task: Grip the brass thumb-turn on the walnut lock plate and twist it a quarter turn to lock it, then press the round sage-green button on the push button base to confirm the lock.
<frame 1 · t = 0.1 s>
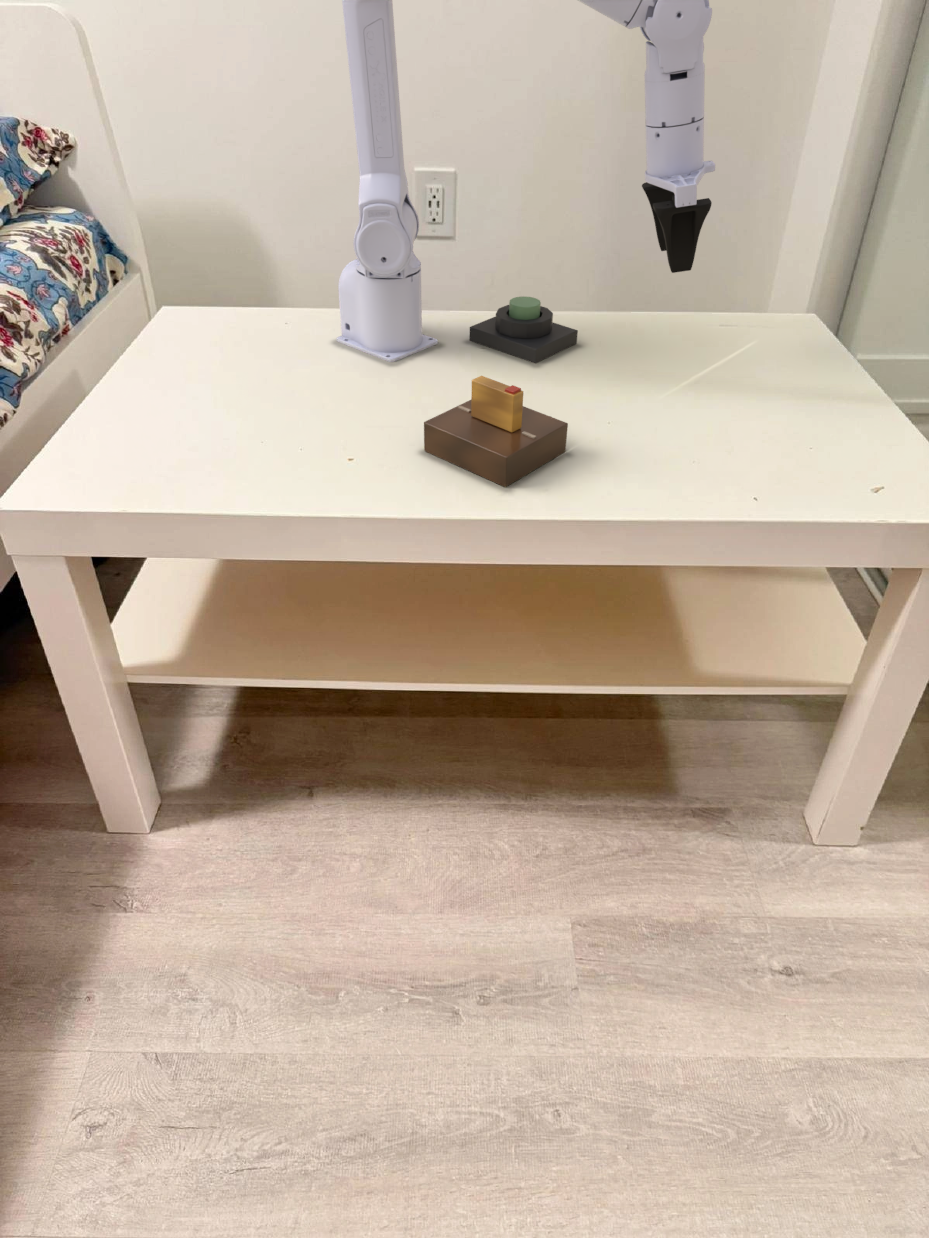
hand: (675, 259, 96), 10 cm above the table, tool pointing down, fingers open, 7 cm apart
lock plate: (494, 451, 83), on the table
push button base: (522, 342, 104), on the table
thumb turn: (496, 402, 80), point 5 cm above the table, hinge at 0.0°
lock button: (524, 309, 102), point 4 cm above the table, slide at 0.1 cm
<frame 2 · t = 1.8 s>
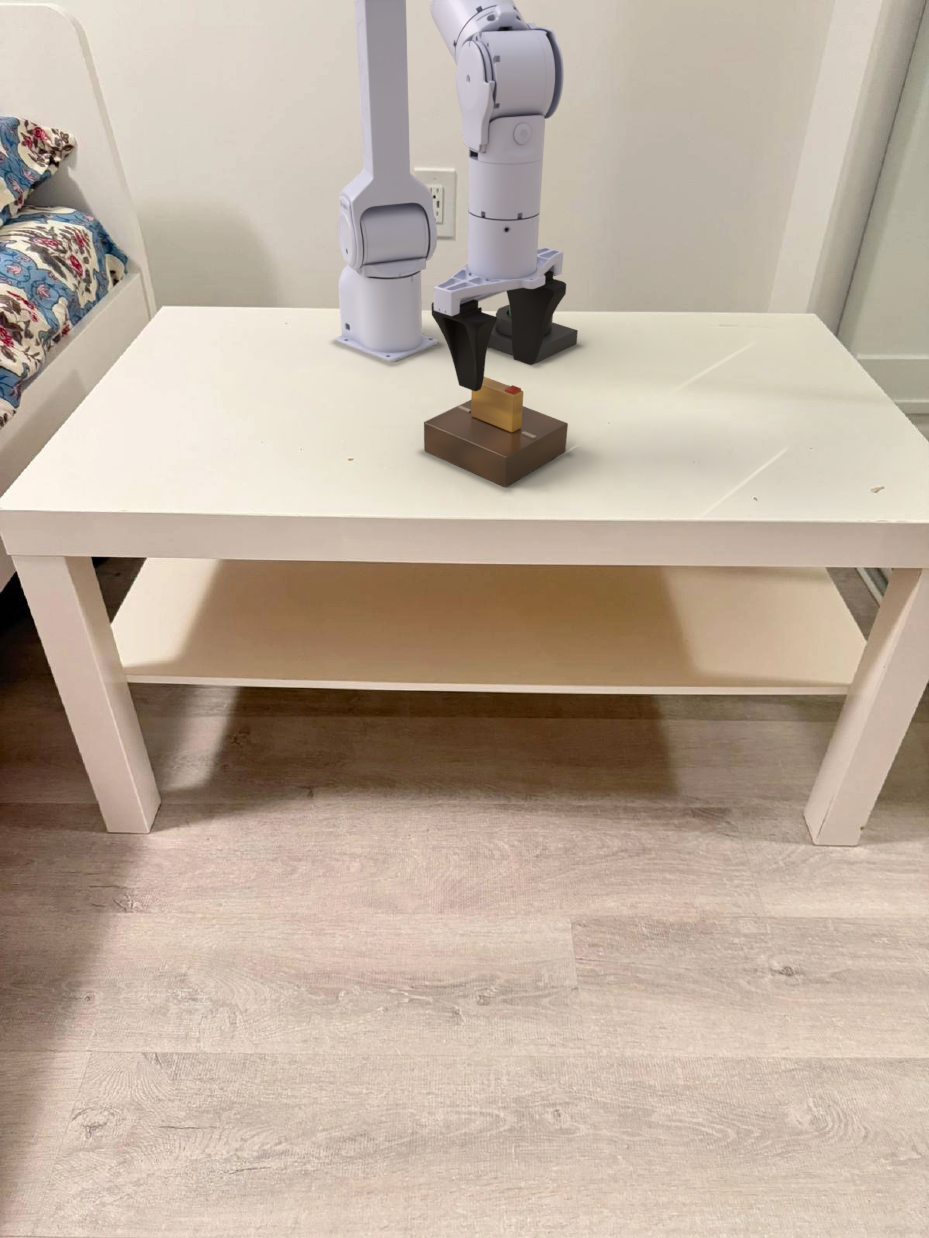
hand: (497, 374, 78), 8 cm above the table, tool pointing down, fingers open, 7 cm apart
nothing on the table moved.
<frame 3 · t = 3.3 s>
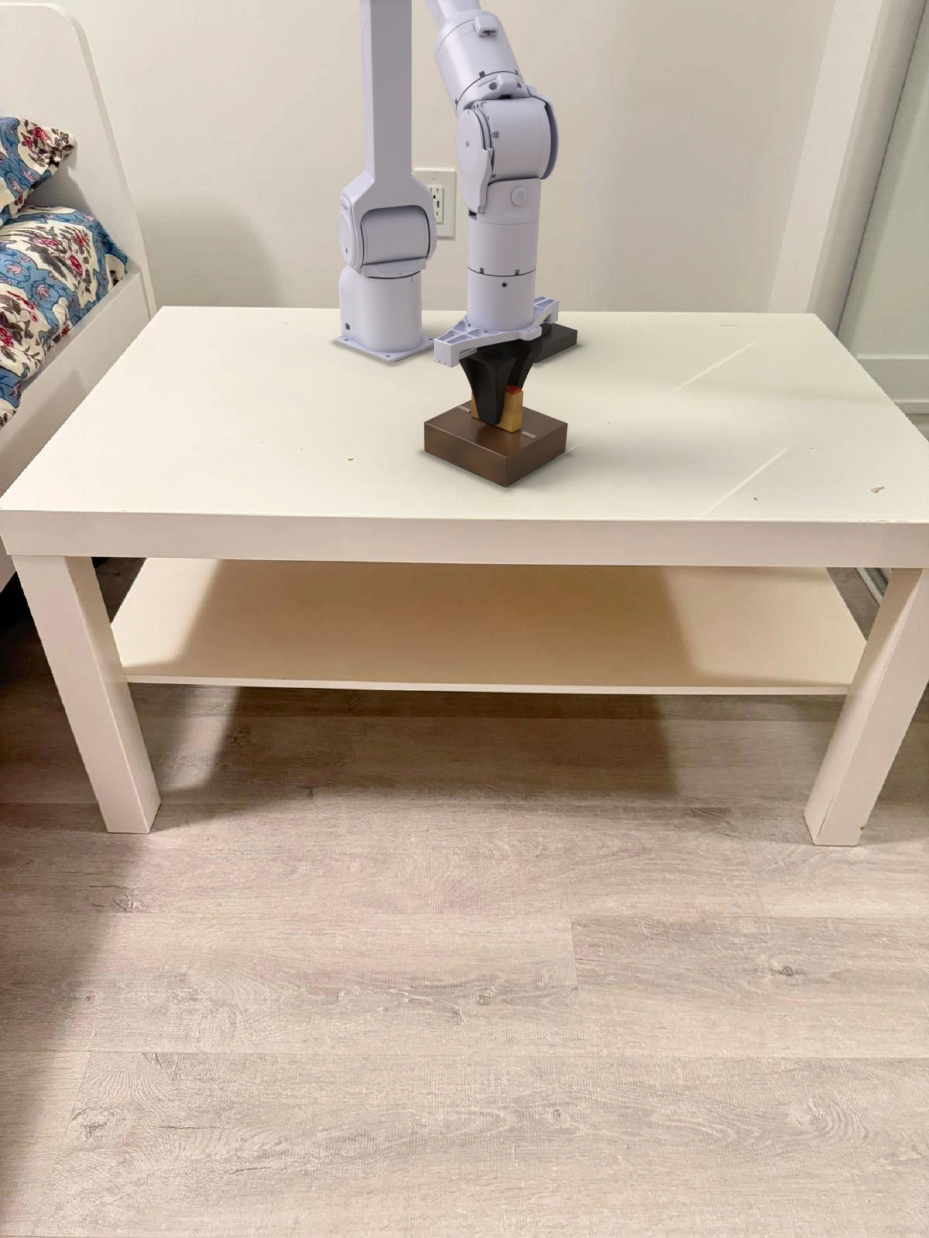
hand: (496, 417, 81), 4 cm above the table, tool pointing down, fingers closed on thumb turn
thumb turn: (496, 402, 80), point 5 cm above the table, hinge at 0.1°, touching gripper
everything else where it was.
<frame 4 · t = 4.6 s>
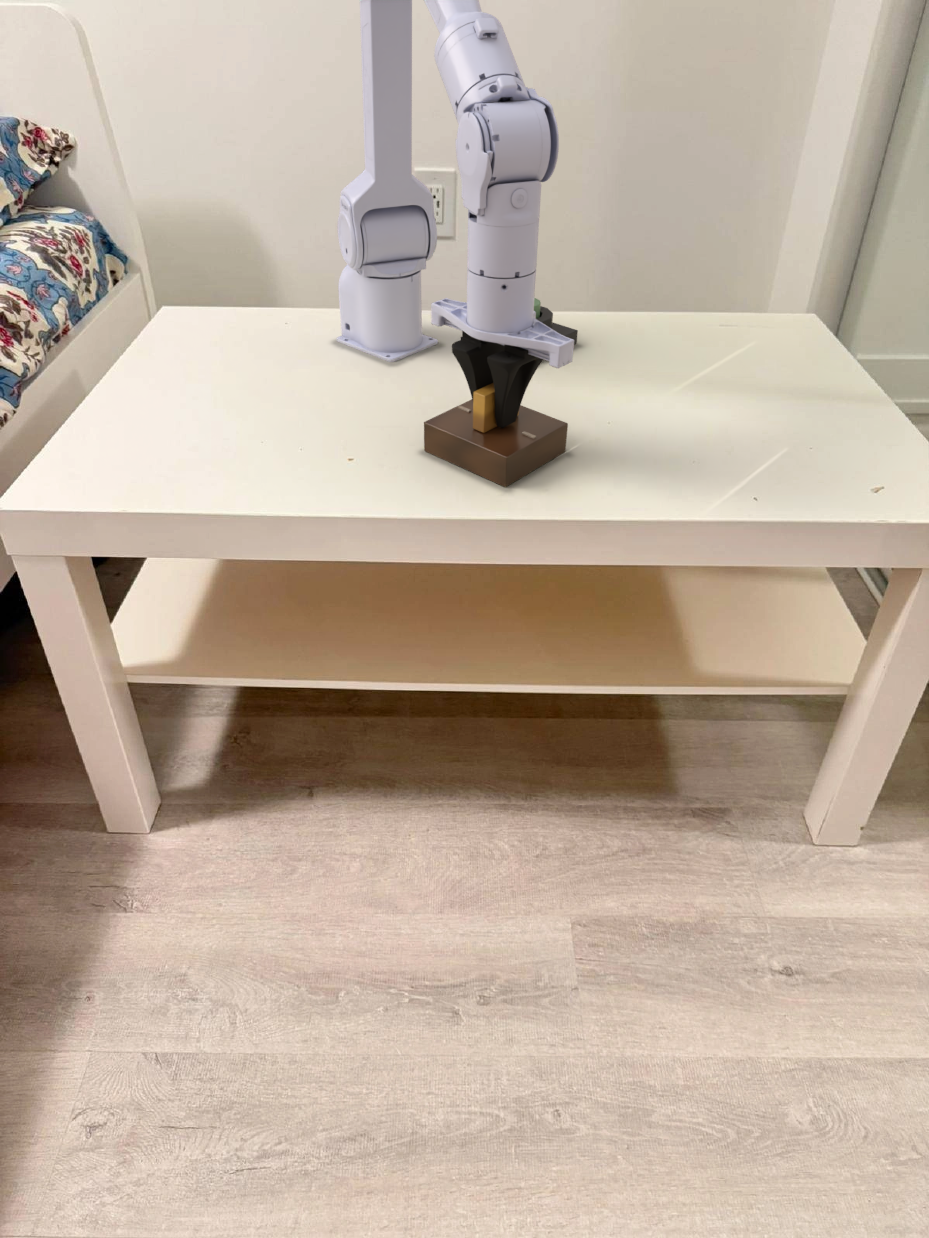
hand: (496, 419, 81), 3 cm above the table, tool pointing down, fingers closed
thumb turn: (496, 402, 80), point 5 cm above the table, hinge at 89.5°
everything else where it was.
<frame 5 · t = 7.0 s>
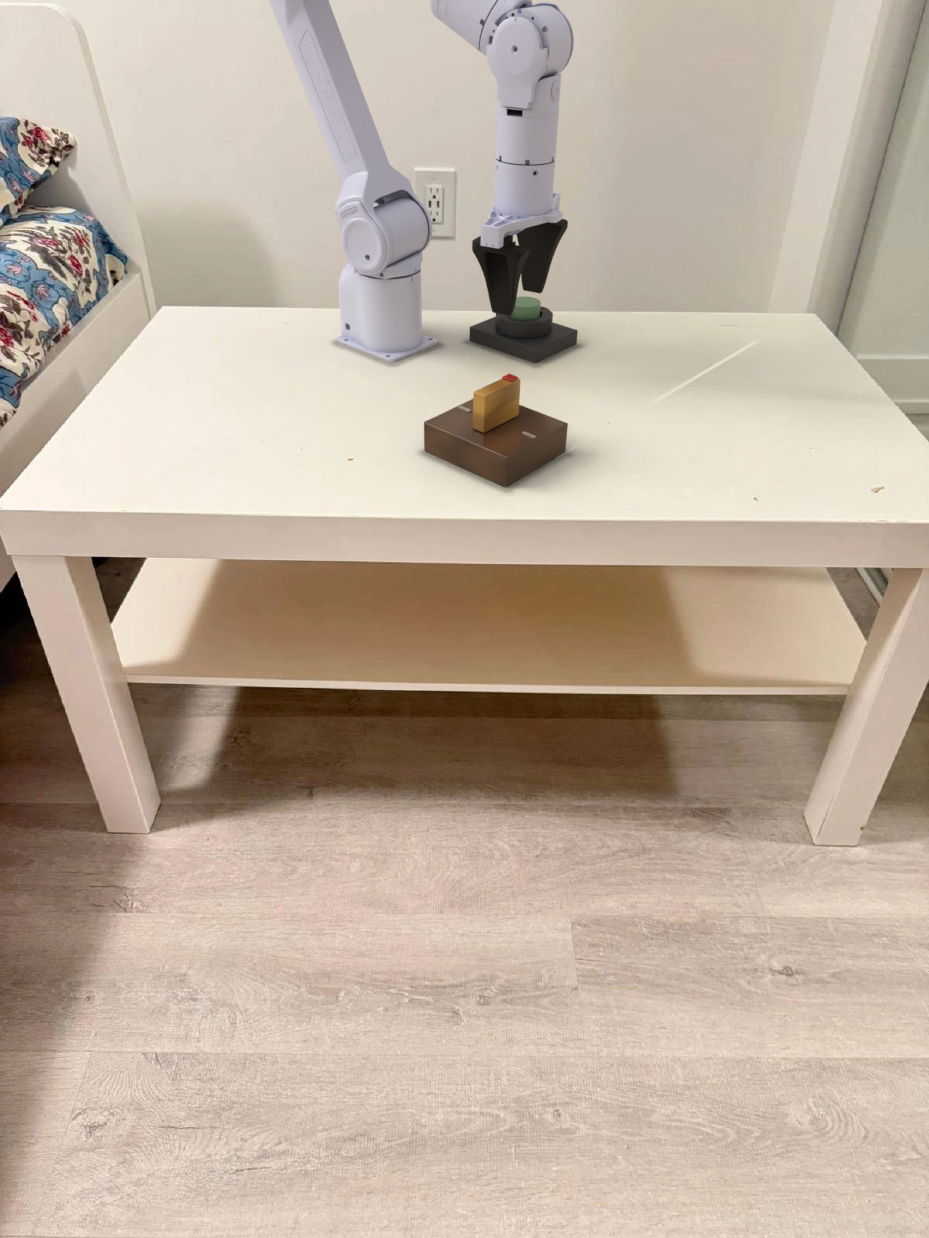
hand: (518, 302, 92), 8 cm above the table, tool pointing down, fingers open, 7 cm apart
nothing on the table moved.
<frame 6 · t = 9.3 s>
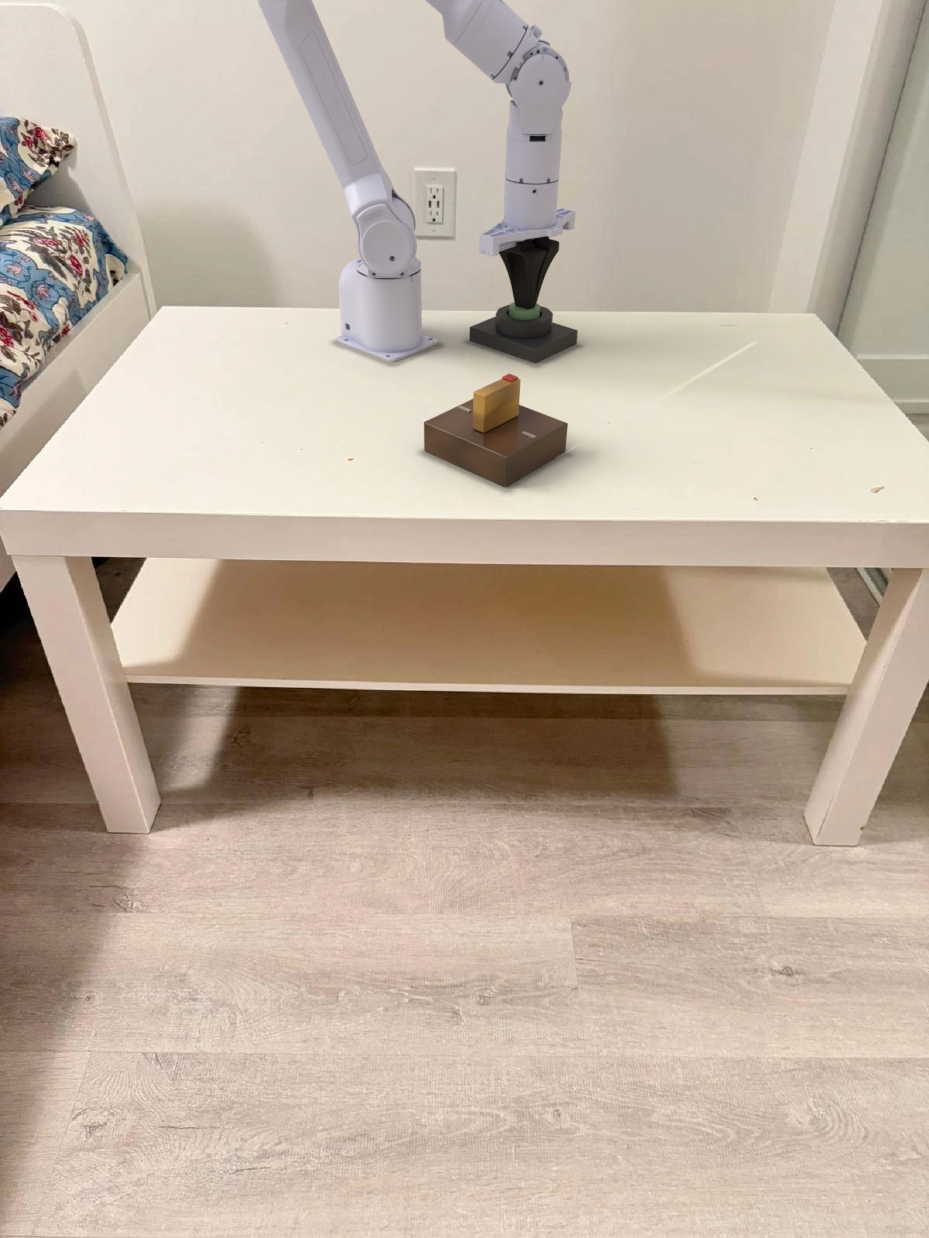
hand: (525, 306, 102), 4 cm above the table, tool pointing down, fingers closed, pressing on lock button
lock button: (524, 313, 102), point 3 cm above the table, slide at -0.4 cm, touching gripper
everything else where it was.
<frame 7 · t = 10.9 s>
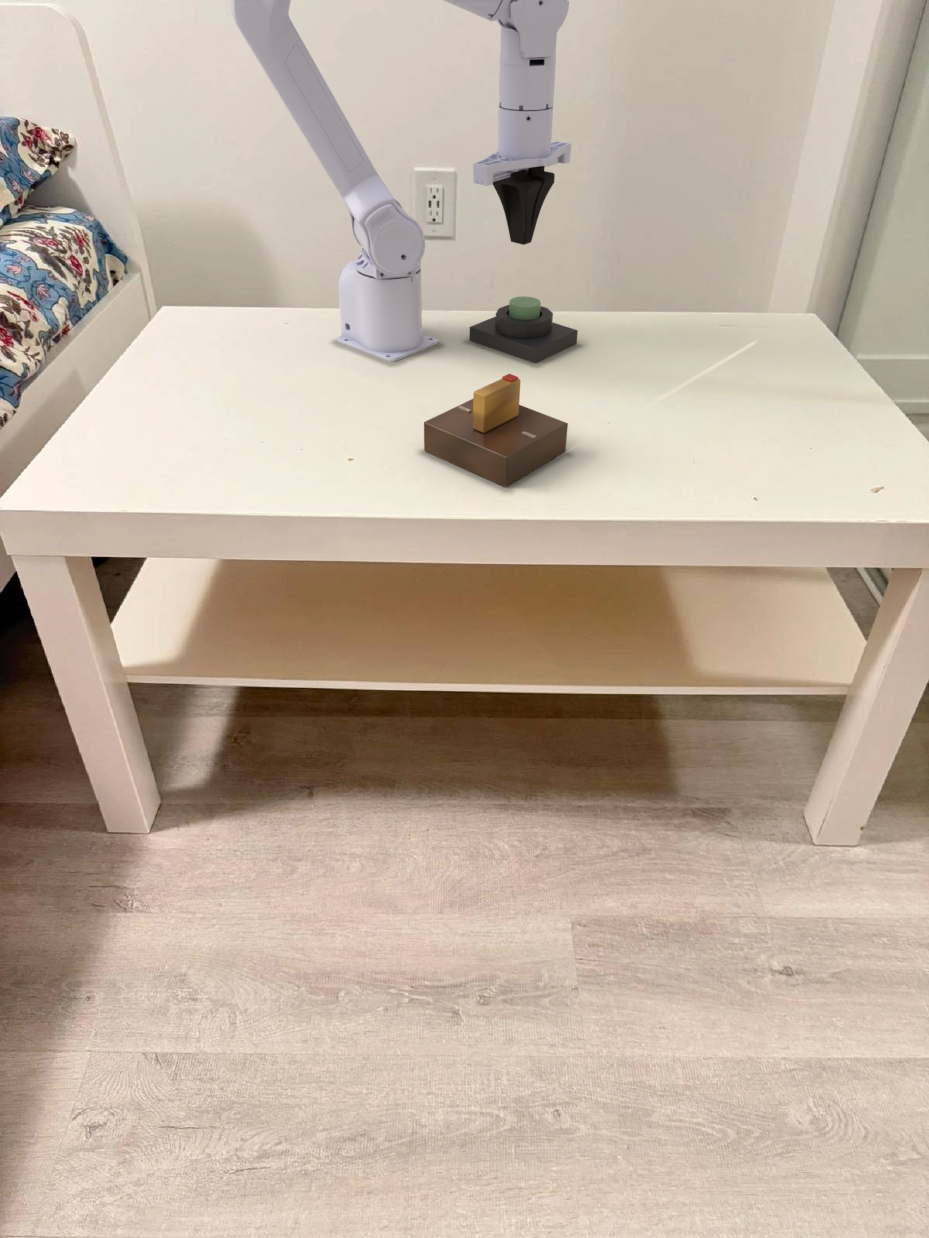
hand: (520, 242, 101), 10 cm above the table, tool pointing down, fingers closed
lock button: (524, 309, 102), point 4 cm above the table, slide at 0.1 cm
everything else where it was.
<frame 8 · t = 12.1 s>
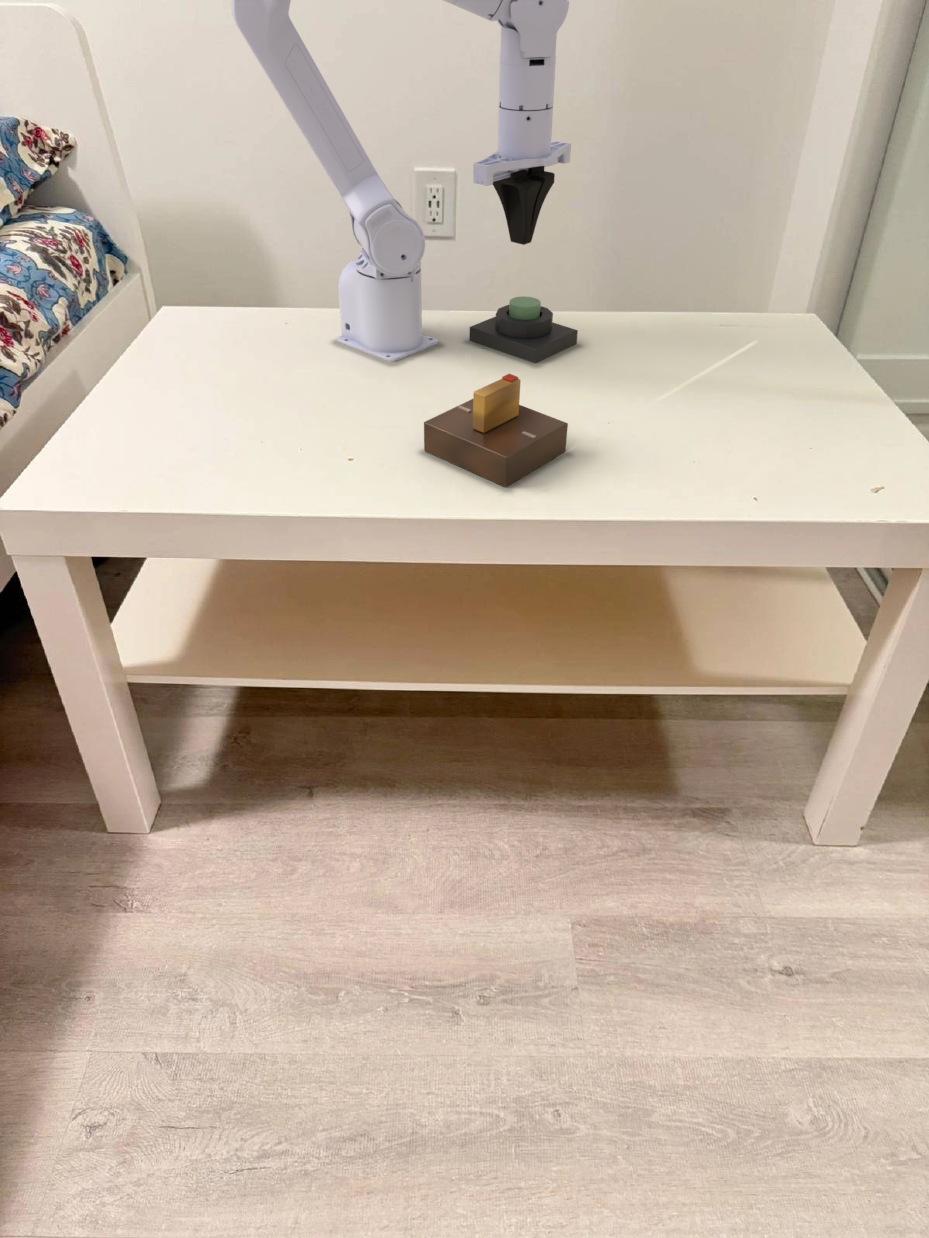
hand: (520, 242, 101), 10 cm above the table, tool pointing down, fingers closed
nothing on the table moved.
at the end: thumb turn at +90° (first picture: +0°); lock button pushed in 1.2 cm at the most during the clip, back to where it started at the end; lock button slide at 0.1 cm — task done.
